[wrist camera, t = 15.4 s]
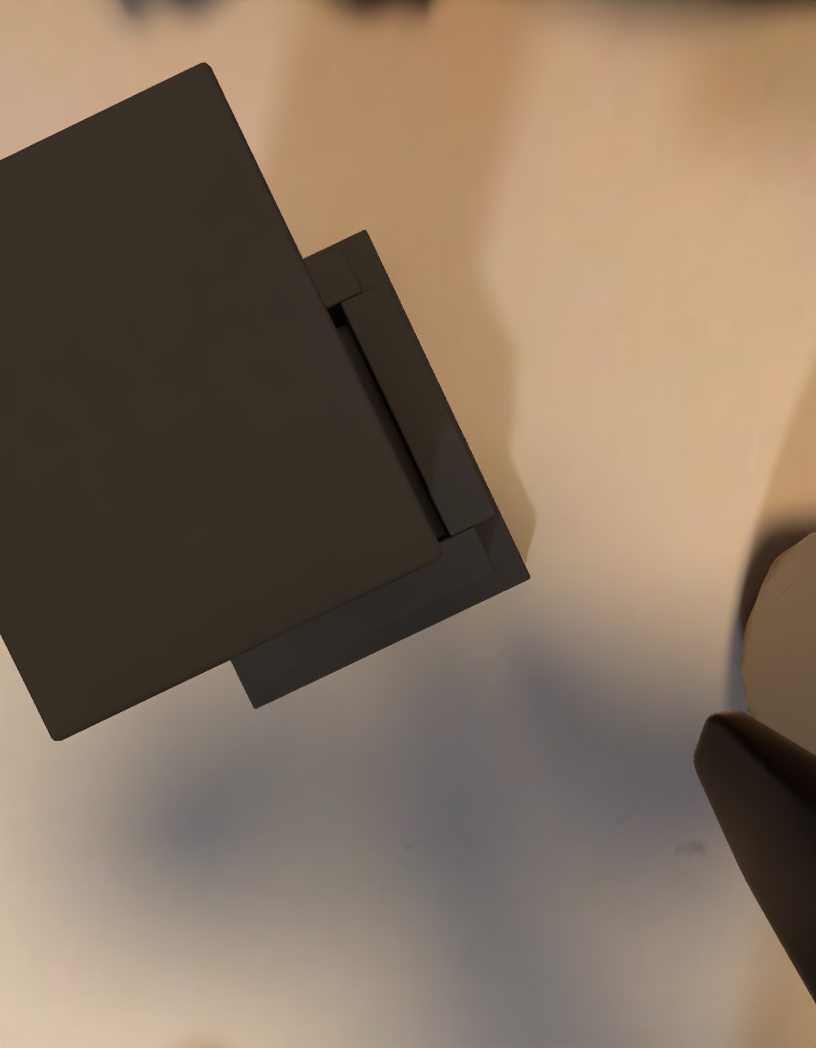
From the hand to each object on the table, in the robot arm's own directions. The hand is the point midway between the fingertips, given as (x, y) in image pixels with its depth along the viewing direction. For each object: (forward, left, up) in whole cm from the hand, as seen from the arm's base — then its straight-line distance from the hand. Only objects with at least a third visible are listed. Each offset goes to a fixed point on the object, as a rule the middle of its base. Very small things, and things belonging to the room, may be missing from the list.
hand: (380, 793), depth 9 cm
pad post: (+2, +4, -10) cm, 11 cm away
